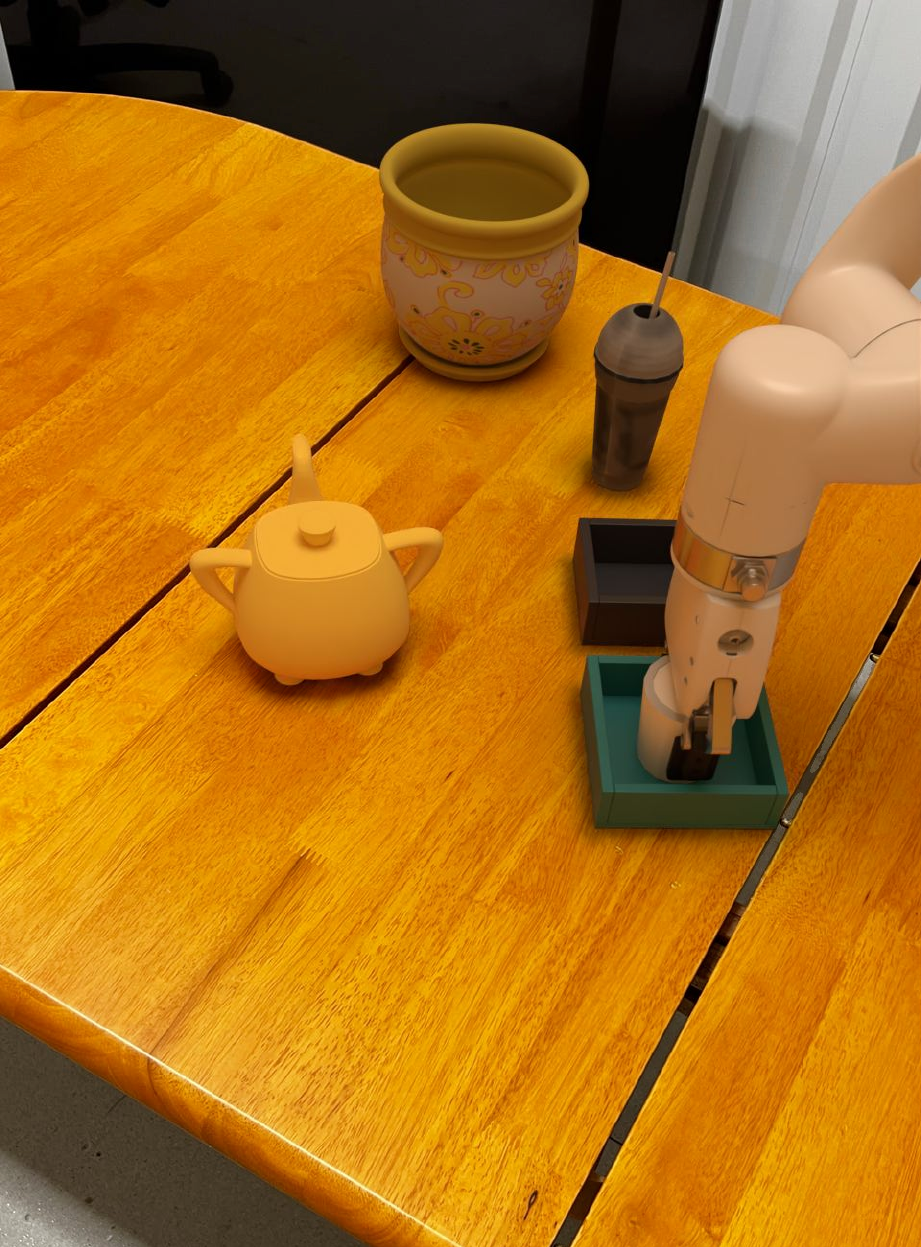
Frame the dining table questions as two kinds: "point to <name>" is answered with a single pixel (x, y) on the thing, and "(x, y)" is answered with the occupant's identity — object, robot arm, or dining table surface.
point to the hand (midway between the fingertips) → (681, 733)
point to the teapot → (318, 583)
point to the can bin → (623, 580)
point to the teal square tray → (636, 799)
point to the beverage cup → (633, 388)
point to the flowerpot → (479, 245)
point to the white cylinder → (662, 720)
